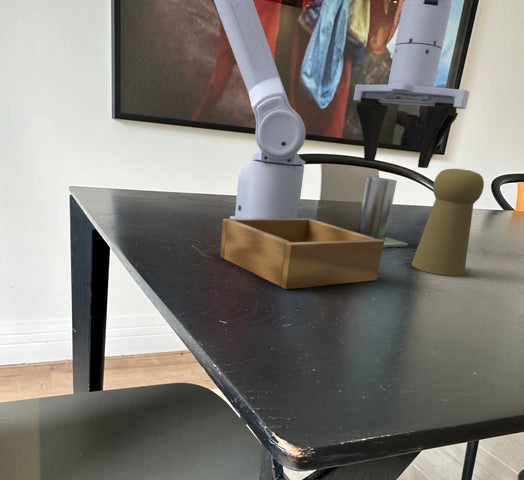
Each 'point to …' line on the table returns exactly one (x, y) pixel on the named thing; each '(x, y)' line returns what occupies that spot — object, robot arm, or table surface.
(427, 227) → the cork
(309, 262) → the wooden box
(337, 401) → the table surface
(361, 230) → the metal tube
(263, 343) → the table surface
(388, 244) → the felt mat
